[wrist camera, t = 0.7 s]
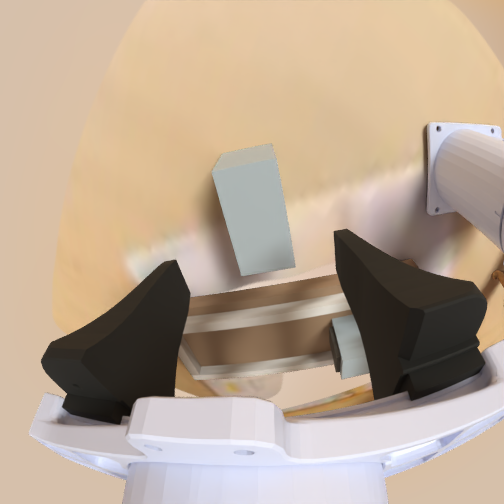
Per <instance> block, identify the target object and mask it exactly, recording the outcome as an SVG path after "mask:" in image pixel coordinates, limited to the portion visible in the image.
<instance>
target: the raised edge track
mask: <svg viewBox="0 0 504 504" xmlns="http://www.w3.org/2000/svg"><path fill="white" fill-rule="evenodd" d="M402 262H404V263H406V264H408V265H410V266H413V267H415V268H418V266H417V265H416V264H415V262H414V261H413V260H412V259H407V260H403V261H402ZM178 356H179V358H180V359H181V361H182V362H183V364H184V365H185V367H186V368H187V370H188V371H189V372H190V374H191V375H192V377H193V378H194V380H208V379H226V378H239V377H250V376H260V375H269V374H277V373H284V372H292V371H298V370H304V369H310V368H316V367H322V366H327V365H333V364H334V365H335V370H336V372H340V375H341V379H345V378H350V377H355V376H359V375H363V374H368V373H369V368H368V363H367V359H366V355H365V350H364V346H363V343H362V339H361V335H360V332H359V329H358V326H357V323H356V321H355V319H354V316H353V314H352V311H351V309H350V307H349V304H348V302H347V300H346V297H345V295H344V293H343V290H342V288H341V285H340V282H339V278H338V275H337V274H334V275H329V276H323V277H318V278H312V279H307V280H300V281H295V282H289V283H283V284H277V285H271V286H265V287H259V288H252V289H246V290H240V291H233V292H226V293H219V294H213V295H206V296H198V297H191V298H190V304H189V312H188V316H187V320H186V324H185V328H184V332H183V336H182V340H181V344H180V348H179V352H178Z"/></svg>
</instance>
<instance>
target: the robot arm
mask: <svg viewBox="0 0 504 504" xmlns="http://www.w3.org/2000/svg"><path fill="white" fill-rule="evenodd" d="M437 126H438V128H439V129H438V131H437V130H436V128H437ZM491 130H492V131H491ZM427 140H428V193H427V213H428V214H429V215H430V216H433V215H439V214H445V213H451V212H458V213H459V214H461V215H462V216H463V217H464V218H465V219H467V220H468V221H469V222H470V223H471V224H473V225H474V226H475V227H476V228H477V229H478V230H479V231H481V232H482V233H483V234H484V235H485V236H486V237H487V238H488V239H490V240H491V241H492V242H493V243H494V244H495V245H496V246H497V247H498V248H499V249H500V250H501V251H502V252H503V253H504V138H501V128H500V127H499V126H495V125H485V124H471V123H450V122H430V123H429V124H428V125H427ZM436 208H437V210H436V211H435V209H436ZM334 244H335V261H336V271H337V275H338V278H339V282H340V285H341V288H342V290H343V293H344V295H345V297H346V300H347V302H348V304H349V307H350V309H351V311H352V314H353V316H354V319H355V321H356V323H357V326H358V329H359V332H360V335H361V339H362V343H363V346H364V350H365V355H366V359H367V363H368V368H369V373H370V378H371V383H372V388H373V395H374V401H371V402H367V403H363V404H358V405H354V406H350V407H345V408H340V409H335V410H330V411H325V412H319V413H313V414H306V415H299V416H292V417H284V415H283V412H282V410H281V409H280V408H278V407H277V406H276V405H275V404H274V403H272V402H271V401H268V400H265V399H261V398H258V397H254V396H217V397H175V396H174V395H175V377H176V367H177V358H178V352H179V348H180V344H181V340H182V336H183V332H184V328H185V324H186V320H187V316H188V312H189V304H190V294H191V293H190V291H189V289H188V286H187V284H186V282H185V279H184V277H183V275H182V273H181V270H180V268H179V265H178V263H177V261H176V260H171V261H165V262H163V263H162V264H161V265H159V266H158V267H157V268H156V269H155V270H154V271H153V272H152V273H151V274H150V275H148V276H147V277H146V278H145V279H144V280H143V281H142V282H141V283H140V284H139V285H138V286H137V287H136V288H135V289H134V290H132V291H131V292H130V293H129V294H128V295H127V296H126V297H125V298H124V299H122V300H121V301H120V302H119V303H118V304H116V305H115V306H114V307H113V308H111V309H110V310H109V311H107V312H106V313H104V314H103V315H101V316H100V317H98V318H97V319H95V320H94V321H92V322H91V323H89V324H87V325H86V326H84V327H82V328H80V329H79V330H77V331H75V332H73V333H71V334H69V335H67V336H64V337H62V338H60V339H57V340H55V341H52V342H51V343H50V345H49V346H48V348H47V350H46V352H45V354H44V355H43V358H42V359H41V363H42V366H43V369H44V370H45V372H46V373H47V374H48V375H49V377H50V378H51V379H52V380H53V381H54V382H55V383H56V384H57V385H58V386H59V387H61V388H62V389H63V390H64V391H65V392H66V393H67V395H66V397H65V399H64V398H63V397H61V396H58V395H54V394H50V393H45V394H44V396H43V398H42V401H41V403H40V405H39V408H38V410H37V413H36V415H35V418H34V420H33V423H32V425H31V428H30V431H29V435H30V436H31V437H33V438H34V439H36V440H37V441H39V442H40V443H42V444H43V445H45V446H46V447H48V448H49V449H51V450H52V451H54V452H56V453H57V454H59V455H61V456H62V457H64V458H66V459H68V460H71V461H74V462H76V463H79V464H81V465H83V466H86V467H89V468H92V469H94V470H97V471H99V472H102V473H105V474H108V475H111V476H114V477H117V478H120V479H123V480H126V485H125V491H124V497H123V502H122V504H388V496H387V490H386V484H385V478H386V477H389V476H391V475H394V474H397V473H400V472H402V471H405V470H408V469H410V468H413V467H415V466H418V465H420V464H422V463H425V462H427V461H429V460H432V459H434V458H436V457H438V456H440V455H442V454H444V453H446V452H448V451H450V450H452V449H454V448H456V447H458V446H460V445H462V444H463V443H465V442H467V441H469V440H471V439H472V438H474V437H476V436H477V435H479V434H481V433H482V432H484V431H486V430H487V429H489V428H491V427H492V426H494V425H495V424H497V423H498V422H500V421H502V420H503V419H504V339H503V340H501V341H499V342H498V343H496V344H494V345H492V346H490V347H488V348H486V349H485V350H484V351H483V352H482V353H480V351H479V350H478V348H477V347H478V346H479V344H480V342H479V340H478V338H477V337H476V334H477V332H478V330H479V328H480V326H481V323H482V321H483V319H484V316H485V313H486V310H487V301H486V298H485V297H484V295H483V294H482V293H481V292H480V290H479V289H478V288H477V286H476V285H475V284H474V283H473V282H471V281H465V280H459V279H453V278H448V277H444V276H440V275H436V274H433V273H430V272H427V271H424V270H421V269H418V268H415V267H413V266H410V265H408V264H406V263H404V262H402V261H399V260H397V259H395V258H393V257H391V256H389V255H388V254H386V253H384V252H382V251H381V250H379V249H377V248H376V247H374V246H372V245H371V244H369V243H368V242H366V241H365V240H363V239H362V238H360V237H359V236H357V235H356V234H354V233H353V232H351V231H350V230H348V229H343V230H337V231H334ZM503 265H504V262H503Z"/></svg>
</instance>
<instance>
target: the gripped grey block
mask: <svg viewBox="0 0 504 504" xmlns="http://www.w3.org/2000/svg"><path fill="white" fill-rule="evenodd" d="M212 175H213V179H214V183H215V186H216V190H217V193H218V197H219V200H220V204H221V207H222V211H223V214H224V218H225V221H226V225H227V228H228V232H229V235H230V239H231V242H232V245H233V249H234V252H235V256H236V259H237V262H238V266H239V269H240V273H241V276H247V275H253V274H259V273H265V272H271V271H277V270H282V269H288V268H294V267H296V266H295V260H294V253H293V247H292V241H291V235H290V229H289V223H288V218H287V212H286V206H285V201H284V195H283V190H282V185H281V179H280V174H279V169H278V164H277V159H276V156H275V152H274V149H273V146H272V143H271V144H265V145H260V146H255V147H250V148H245V149H241V150H236V151H232V152H227V153H223V154H222V155H221V157H220V158H219V160H218V162H217V163H216V165H215V167H214V169H213V170H212Z"/></svg>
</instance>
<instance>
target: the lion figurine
mask: <svg viewBox="0 0 504 504" xmlns="http://www.w3.org/2000/svg"><path fill="white" fill-rule="evenodd" d="M497 277H498V278H499V280H500V282H501V284H502V286H503V287H504V273H503V272H502V271H498V270H496V271H494V272H493V274H492V278H493V279H497Z"/></svg>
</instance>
